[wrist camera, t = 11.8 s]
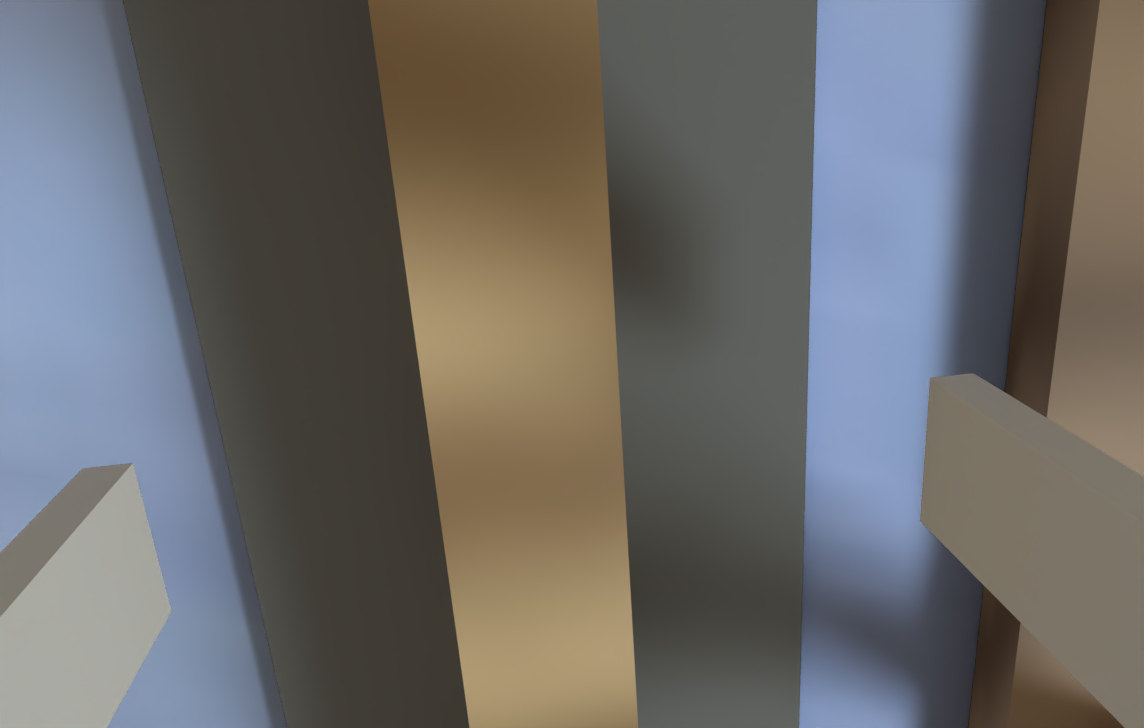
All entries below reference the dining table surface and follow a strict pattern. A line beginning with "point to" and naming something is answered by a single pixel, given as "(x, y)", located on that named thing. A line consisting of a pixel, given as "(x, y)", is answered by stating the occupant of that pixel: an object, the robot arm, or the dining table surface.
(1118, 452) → the hook rack
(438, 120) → the batten
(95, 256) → the dining table surface
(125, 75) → the dining table surface
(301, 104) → the mat
